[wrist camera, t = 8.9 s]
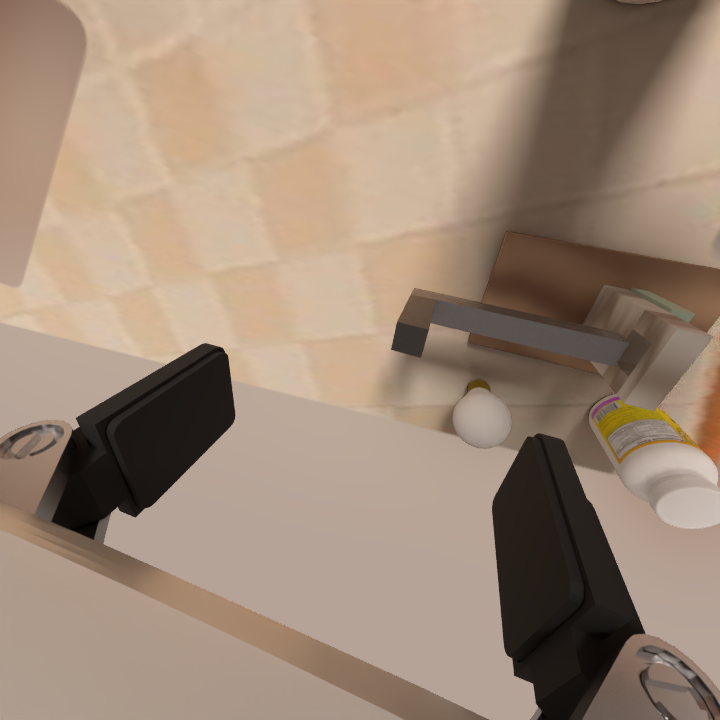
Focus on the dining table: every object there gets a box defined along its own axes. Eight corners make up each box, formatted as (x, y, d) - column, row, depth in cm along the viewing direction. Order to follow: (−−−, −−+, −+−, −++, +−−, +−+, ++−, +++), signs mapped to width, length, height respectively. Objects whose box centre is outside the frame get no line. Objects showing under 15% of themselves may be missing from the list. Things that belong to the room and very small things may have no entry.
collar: (631, 287, 29) (672, 309, 23) (649, 291, 29) (695, 314, 23) (595, 348, 32) (623, 379, 27) (610, 351, 32) (642, 384, 26)
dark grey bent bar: (414, 287, 26) (397, 321, 19) (617, 332, 24) (687, 391, 16) (409, 309, 27) (391, 349, 20) (603, 354, 25) (663, 420, 17)
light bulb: (486, 356, 37) (494, 404, 28) (513, 392, 38) (528, 448, 29) (444, 379, 40) (440, 428, 31) (470, 411, 41) (473, 468, 32)
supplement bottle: (653, 436, 36) (739, 542, 25) (585, 437, 38) (636, 534, 27) (661, 387, 33) (761, 481, 22) (587, 391, 35) (645, 478, 24)
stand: (506, 231, 30) (531, 249, 20) (742, 272, 27) (928, 322, 16) (468, 339, 36) (471, 398, 26) (657, 384, 33) (752, 474, 22)
